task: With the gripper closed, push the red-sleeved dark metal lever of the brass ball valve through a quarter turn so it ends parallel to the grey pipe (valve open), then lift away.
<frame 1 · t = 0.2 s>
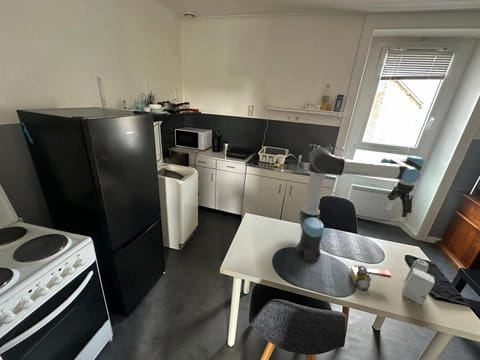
hand: (394, 215, 125), 28 cm above the table, fingers open, 13 cm apart
lever: (373, 272, 108), point 7 cm above the table, hinge at 0.0°
skincare box: (412, 296, 104), on the table
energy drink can: (411, 283, 111), on the table
valve: (358, 280, 111), on the table
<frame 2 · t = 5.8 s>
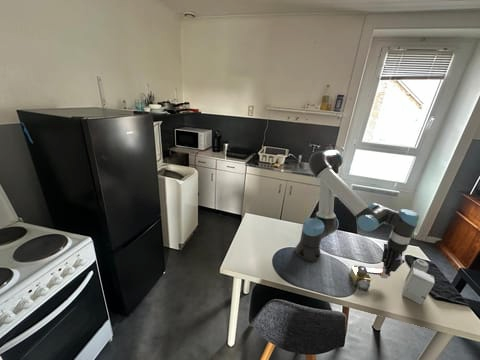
hand: (383, 277, 106), 6 cm above the table, fingers closed
lever: (373, 271, 108), point 8 cm above the table, hinge at 3.8°, touching gripper
everything else where it was.
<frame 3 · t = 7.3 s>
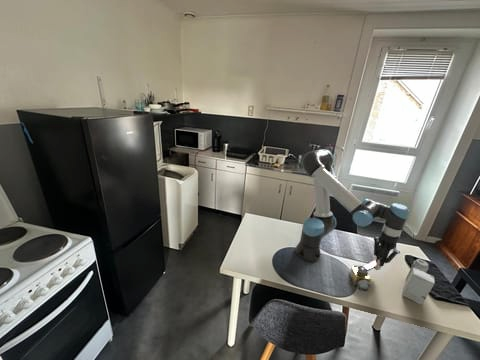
hand: (377, 268, 111), 6 cm above the table, fingers closed
lever: (369, 267, 111), point 7 cm above the table, hinge at 34.9°, touching gripper
everything else where it was.
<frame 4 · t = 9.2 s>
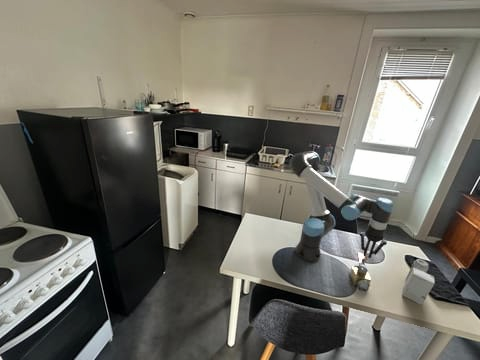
hand: (365, 261, 117), 7 cm above the table, fingers closed
lever: (361, 263, 113), point 8 cm above the table, hinge at 73.3°, touching gripper
everything else where it was.
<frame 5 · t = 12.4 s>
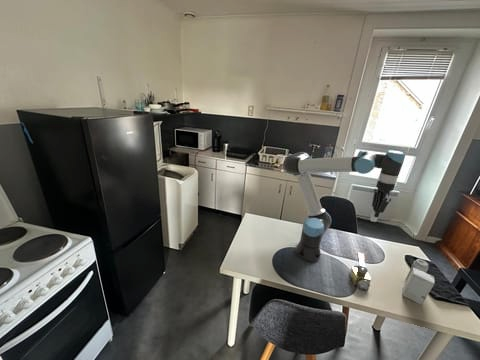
hand: (373, 220, 112), 30 cm above the table, fingers closed
lever: (361, 263, 113), point 8 cm above the table, hinge at 73.4°
everything else where it was.
at the end: lever at +73° (first picture: +0°) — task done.
